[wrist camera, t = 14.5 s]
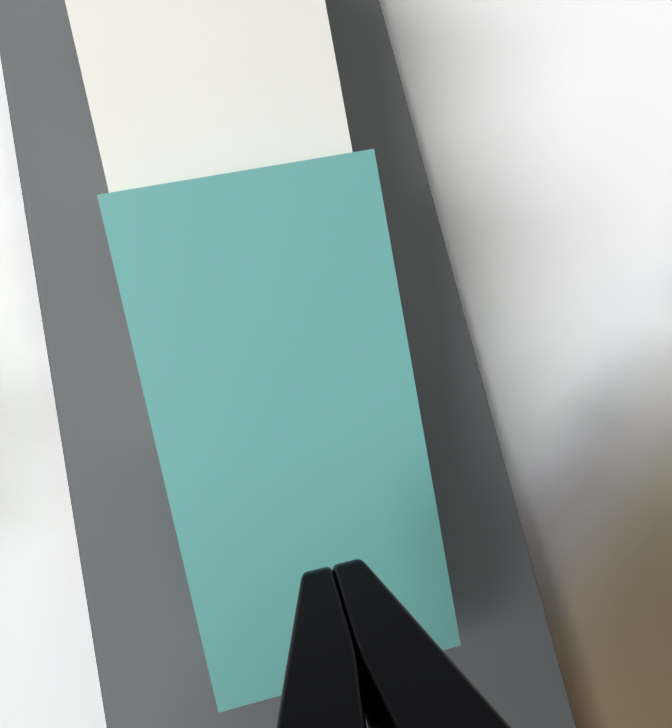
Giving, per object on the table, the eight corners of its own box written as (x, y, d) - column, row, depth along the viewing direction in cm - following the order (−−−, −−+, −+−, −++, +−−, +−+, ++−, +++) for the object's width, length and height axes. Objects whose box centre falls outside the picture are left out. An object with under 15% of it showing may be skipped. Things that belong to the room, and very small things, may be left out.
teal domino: (460, 645, 13) (374, 148, 12) (218, 712, 13) (96, 195, 11) (436, 608, 15) (357, 165, 13) (220, 665, 14) (113, 206, 13)
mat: (598, 839, 15) (609, 851, 14) (155, 984, 13) (150, 1003, 13) (289, -309, 20) (289, -329, 20) (-49, -287, 19) (-58, -308, 18)
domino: (396, 392, 14) (307, -94, 13) (166, 443, 13) (50, -64, 12) (380, 383, 16) (299, -50, 14) (173, 428, 15) (71, -23, 14)
